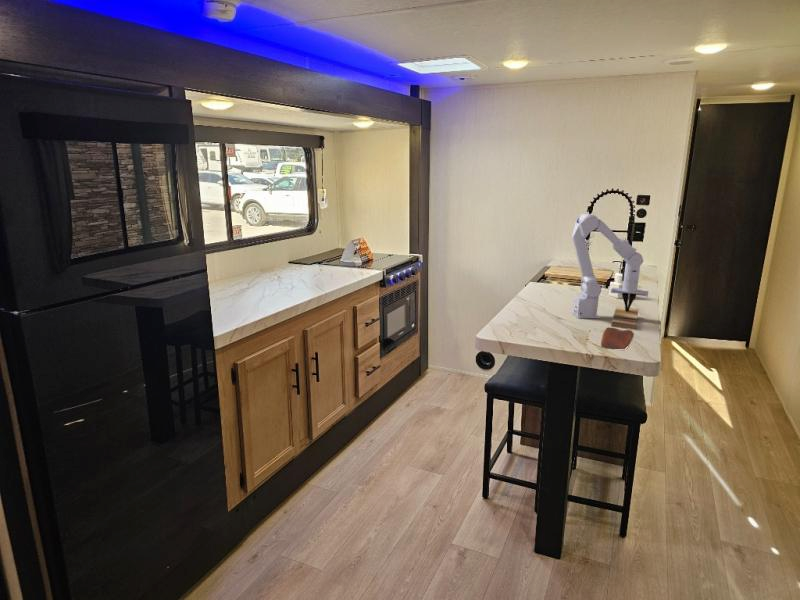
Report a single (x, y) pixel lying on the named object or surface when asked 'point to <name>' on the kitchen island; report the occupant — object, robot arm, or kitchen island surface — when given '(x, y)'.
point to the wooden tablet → (615, 338)
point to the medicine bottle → (617, 285)
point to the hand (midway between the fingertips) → (627, 310)
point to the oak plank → (626, 312)
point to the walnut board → (624, 322)
